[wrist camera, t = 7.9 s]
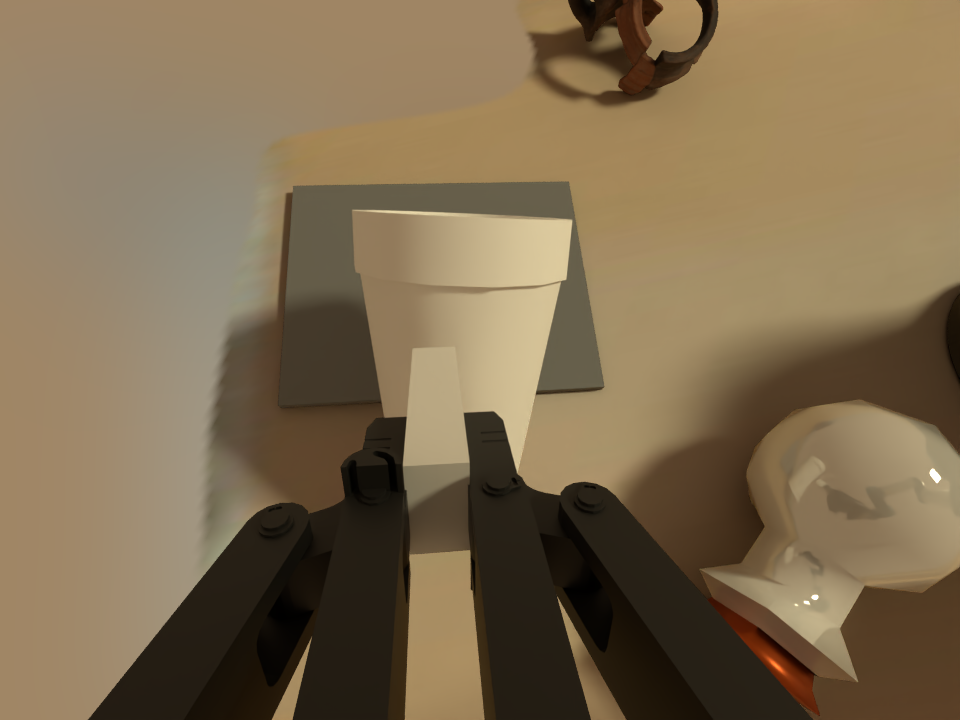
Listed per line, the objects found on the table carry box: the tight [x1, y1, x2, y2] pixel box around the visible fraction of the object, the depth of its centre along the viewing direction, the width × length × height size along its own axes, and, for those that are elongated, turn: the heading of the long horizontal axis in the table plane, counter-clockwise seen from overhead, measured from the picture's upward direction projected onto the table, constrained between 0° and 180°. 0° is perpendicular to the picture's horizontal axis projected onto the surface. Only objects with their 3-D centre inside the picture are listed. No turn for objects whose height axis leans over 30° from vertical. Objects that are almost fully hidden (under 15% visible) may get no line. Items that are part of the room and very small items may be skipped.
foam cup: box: [352, 210, 572, 473], centre depth 22 cm, size 10×9×13 cm
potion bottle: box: [699, 399, 960, 716], centre depth 23 cm, size 9×10×15 cm
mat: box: [278, 182, 604, 408], centre depth 31 cm, size 16×20×1 cm
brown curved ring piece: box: [568, 0, 718, 95], centre depth 38 cm, size 12×9×8 cm
